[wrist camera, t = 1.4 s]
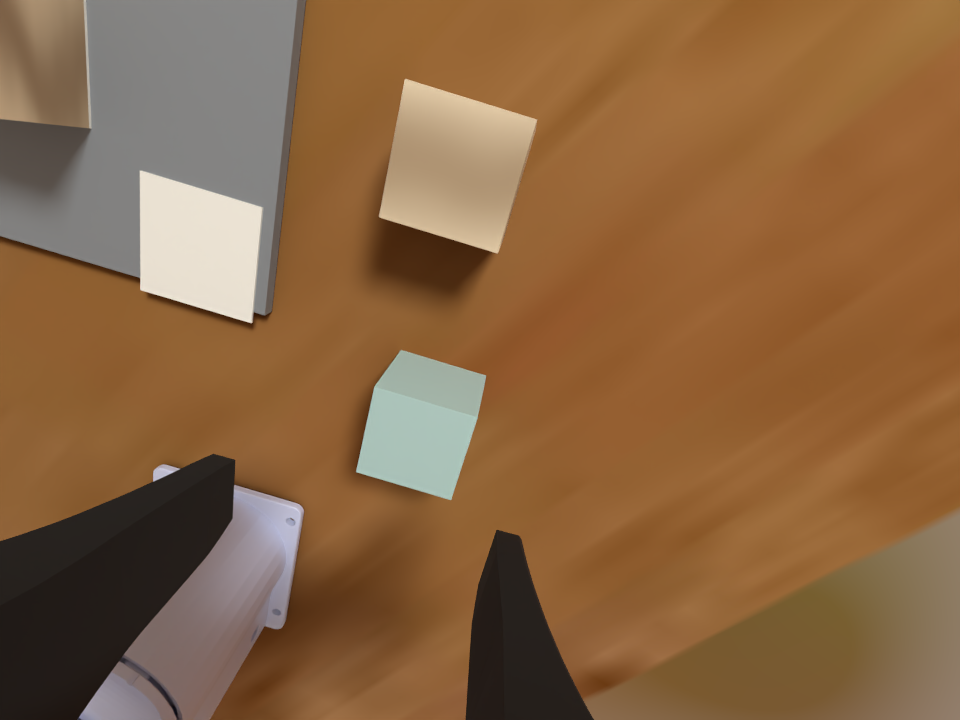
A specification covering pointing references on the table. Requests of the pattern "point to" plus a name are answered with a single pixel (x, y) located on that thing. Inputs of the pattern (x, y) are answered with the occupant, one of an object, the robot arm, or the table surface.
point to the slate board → (168, 151)
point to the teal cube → (421, 424)
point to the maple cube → (455, 166)
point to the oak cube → (43, 62)
